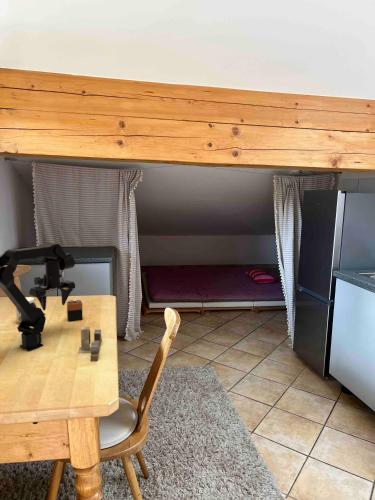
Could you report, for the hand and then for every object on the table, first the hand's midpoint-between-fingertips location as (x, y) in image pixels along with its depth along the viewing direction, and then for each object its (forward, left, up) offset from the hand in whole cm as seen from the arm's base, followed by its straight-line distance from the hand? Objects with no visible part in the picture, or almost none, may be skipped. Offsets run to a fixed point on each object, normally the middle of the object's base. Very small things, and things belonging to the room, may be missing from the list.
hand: (53, 307), depth 146 cm
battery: (+18, +10, -13) cm, 25 cm away
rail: (0, -22, -13) cm, 26 cm away
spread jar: (+3, +23, -13) cm, 27 cm away
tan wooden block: (-1, -21, -13) cm, 25 cm away
